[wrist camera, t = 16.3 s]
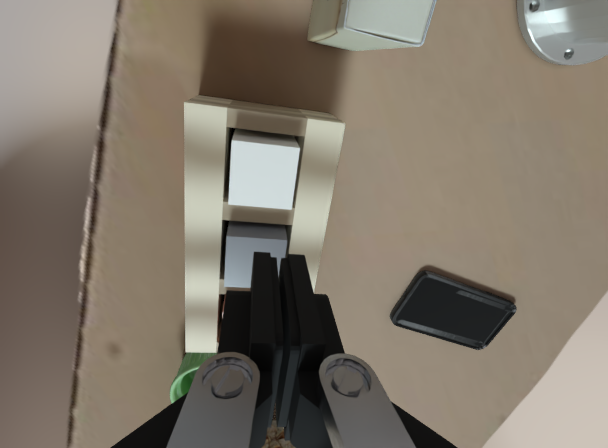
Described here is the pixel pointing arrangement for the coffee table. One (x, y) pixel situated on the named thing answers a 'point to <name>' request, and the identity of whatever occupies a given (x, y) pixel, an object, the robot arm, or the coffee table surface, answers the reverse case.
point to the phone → (451, 311)
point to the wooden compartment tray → (215, 210)
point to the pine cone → (276, 437)
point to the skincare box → (370, 23)
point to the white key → (263, 169)
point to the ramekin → (187, 373)
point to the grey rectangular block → (251, 249)
